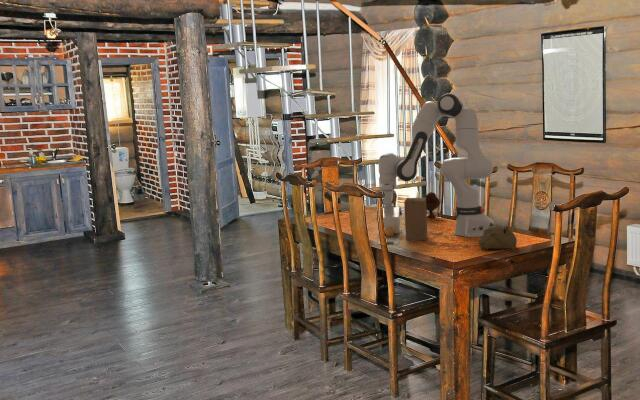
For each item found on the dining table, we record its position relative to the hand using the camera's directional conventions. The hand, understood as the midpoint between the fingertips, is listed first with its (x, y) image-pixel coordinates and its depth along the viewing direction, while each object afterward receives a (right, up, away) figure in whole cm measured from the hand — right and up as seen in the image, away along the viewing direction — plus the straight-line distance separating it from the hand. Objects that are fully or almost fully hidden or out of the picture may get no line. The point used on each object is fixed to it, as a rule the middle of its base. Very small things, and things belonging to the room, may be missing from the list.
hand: (388, 210), depth 364 cm
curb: (-3, -16, -22) cm, 27 cm away
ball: (0, -11, -6) cm, 12 cm away
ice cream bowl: (+28, -5, +37) cm, 47 cm away
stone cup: (+7, -3, +54) cm, 55 cm away
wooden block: (+13, -14, -13) cm, 23 cm away
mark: (-2, -15, -16) cm, 22 cm away
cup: (+1, -9, +4) cm, 10 cm away
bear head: (+46, -17, -43) cm, 65 cm away
